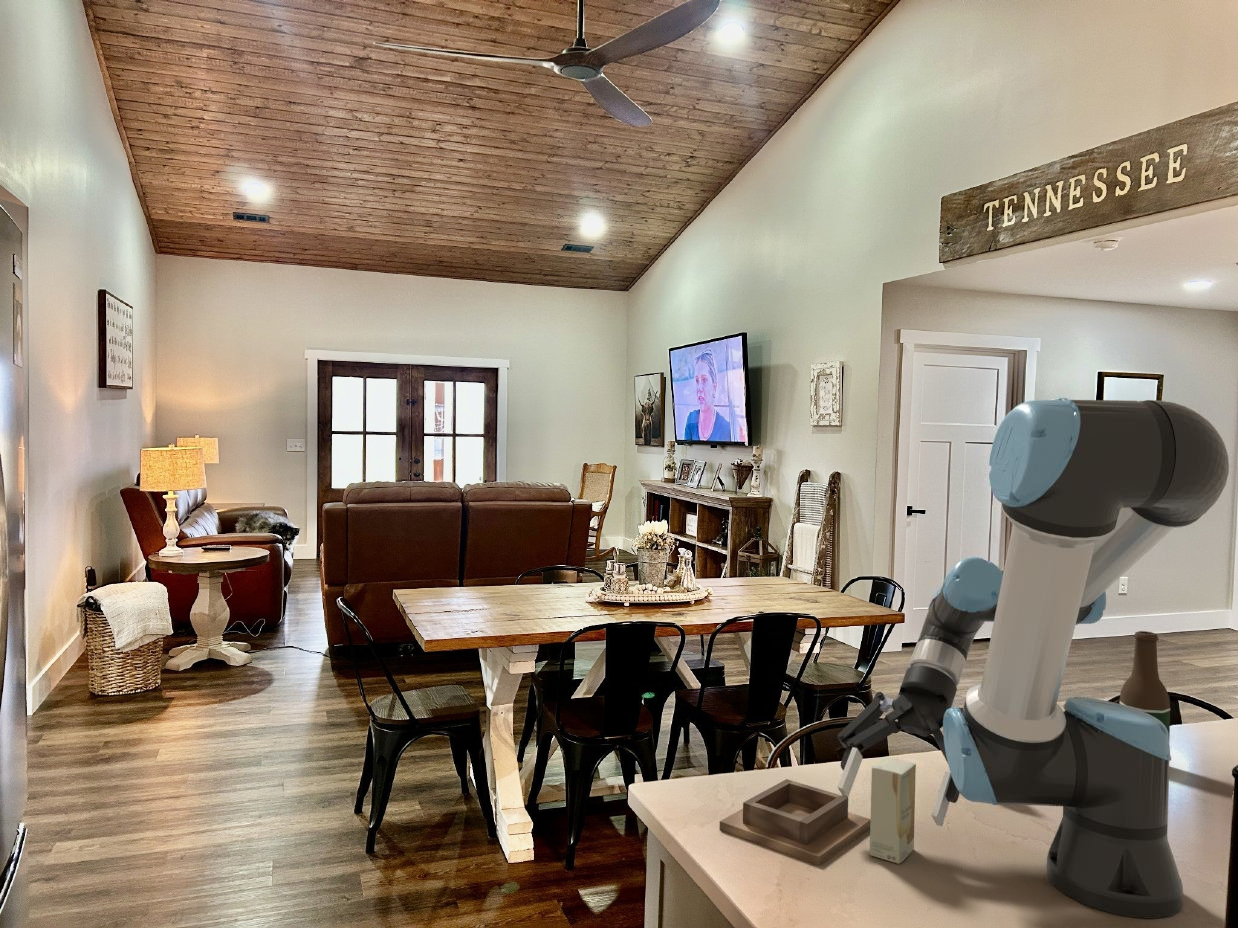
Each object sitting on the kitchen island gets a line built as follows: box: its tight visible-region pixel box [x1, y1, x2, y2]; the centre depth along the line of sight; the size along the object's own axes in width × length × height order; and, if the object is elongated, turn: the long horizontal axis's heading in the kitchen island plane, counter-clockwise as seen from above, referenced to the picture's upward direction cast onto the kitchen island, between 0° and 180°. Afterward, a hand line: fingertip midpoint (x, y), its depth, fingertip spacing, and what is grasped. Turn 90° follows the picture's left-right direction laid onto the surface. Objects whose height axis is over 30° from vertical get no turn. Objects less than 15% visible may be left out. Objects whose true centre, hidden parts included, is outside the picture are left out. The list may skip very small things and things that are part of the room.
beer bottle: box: [1119, 630, 1171, 739], centre depth 154 cm, size 8×8×24 cm
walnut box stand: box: [719, 778, 871, 866], centre depth 126 cm, size 16×16×4 cm
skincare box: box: [869, 756, 917, 864], centre depth 119 cm, size 6×4×12 cm
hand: (887, 806), depth 119 cm, fingers open, 13 cm apart
